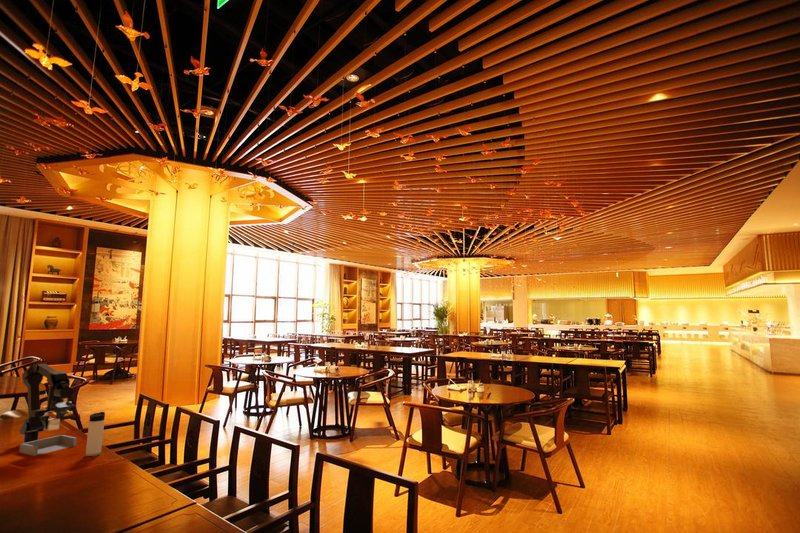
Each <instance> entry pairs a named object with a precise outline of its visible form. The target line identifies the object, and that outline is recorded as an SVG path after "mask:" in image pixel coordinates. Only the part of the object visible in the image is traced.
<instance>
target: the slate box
mask: <svg viewBox="0 0 800 533" xmlns="http://www.w3.org/2000/svg"><path fill="white" fill-rule="evenodd" d="M76 446H77V437H75V436H70V435H67V434H60V435H53V436H50V437H49V436H48V437H44V438H41V439H40V438H39V439H38V440H35V441H31V442H26V443H23V442H22V443H20V444H19V453H21V454H25V455H29V456H33V457H36V456H39V455H44V454H47V453H52V452H56V451H60V450H64V449H68V448H71V447H76Z"/></svg>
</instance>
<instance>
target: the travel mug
mask: <svg viewBox="0 0 800 533" xmlns="http://www.w3.org/2000/svg"><path fill="white" fill-rule="evenodd" d="M105 417H106V412H105V411H100V412H95V413H92V414H89V421H88V429H87V440H86V448H85V457H87V456H93V457H97V455H98V456H100V455H101V454H102V445H103V440H104V429H105V428H104V427H105Z"/></svg>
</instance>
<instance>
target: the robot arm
mask: <svg viewBox="0 0 800 533" xmlns="http://www.w3.org/2000/svg"><path fill="white" fill-rule="evenodd" d="M44 377H45V378H46V382H48V386H47V388H49V389H48V395H47V398H46V402H47V404H46V406H45V409H41V401H40V400H41V399H40V398H41V397H40V385H41V383H42V382H43V380H44ZM21 379H22V382H23V385H25V386H26V388H27V409H28V410H27V416H26V418H24V421H23V424H22V426H21V427H20V428H19V434H20V435H23V442H22V443H26V442H31V441H35V440H39V439H38V438H39V432H43V431H45V430H44V427H45V429H47V427H48V419H50V415H49V414H52V413H55V414H56V416H55V418H58V419H60V423H61V422H62V420H63V418H64V417H65V416H66V415H67V414H69V412H74V411H77V405H76V404H73V402H72V401H67V402H64V400H65V399H69V398H71V396H72V395H73V393H74V391H73V388H71V387H70V385H71V380H70V378H69V375H68V373H67V372H66V371H64V370H56V369H54V368H53V367H50V366H49V365H48V364H47V363H37V364H34V366H32V367H29V368H27V369H26V370H25V371H24V372H23V373H22V374H21ZM68 411H69V412H68Z"/></svg>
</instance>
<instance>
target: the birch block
mask: <svg viewBox="0 0 800 533" xmlns="http://www.w3.org/2000/svg"><path fill="white" fill-rule="evenodd" d="M60 424H61V422H60V419H58V418H56V417H53V418H48V427H47V429H45V427H44V430H43V431H55V430H59V429H60Z"/></svg>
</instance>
